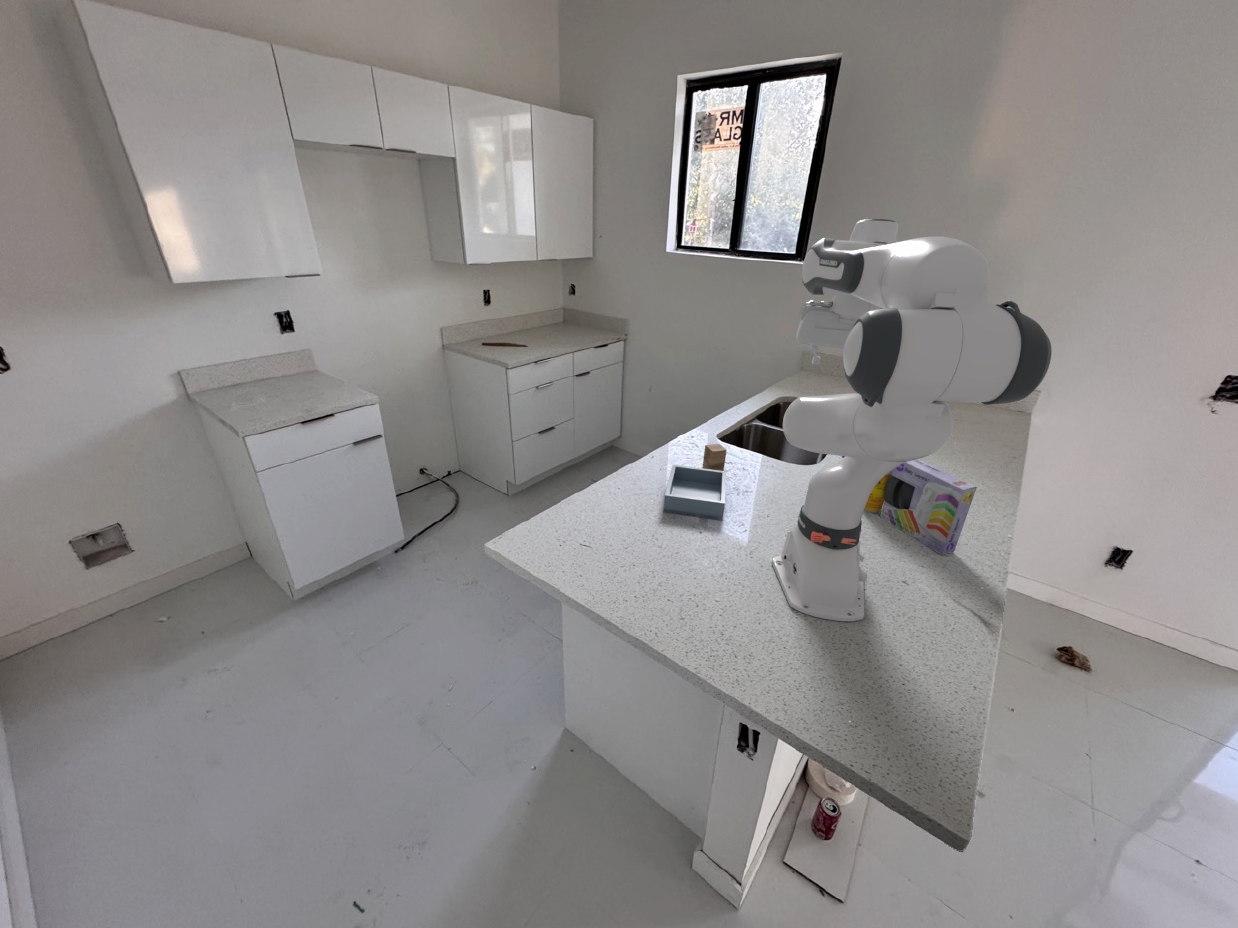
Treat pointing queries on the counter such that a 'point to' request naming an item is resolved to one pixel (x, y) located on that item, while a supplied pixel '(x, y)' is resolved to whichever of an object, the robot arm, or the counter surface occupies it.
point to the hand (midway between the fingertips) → (837, 366)
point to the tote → (696, 492)
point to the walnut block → (714, 457)
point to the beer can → (877, 496)
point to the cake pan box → (927, 504)
